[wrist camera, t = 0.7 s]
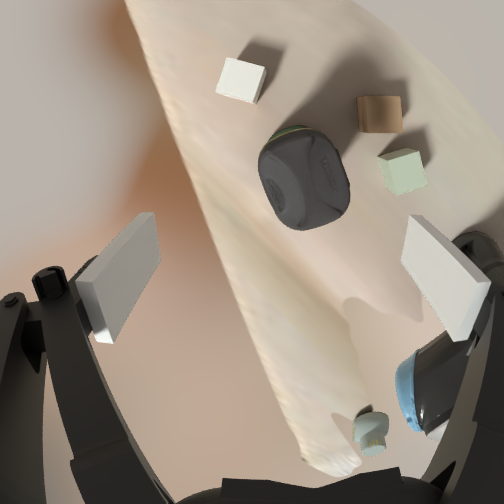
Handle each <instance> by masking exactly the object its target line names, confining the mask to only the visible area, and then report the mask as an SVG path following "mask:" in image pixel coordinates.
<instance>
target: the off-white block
mask: <svg viewBox="0 0 504 504" xmlns="http://www.w3.org/2000/svg"><path fill="white" fill-rule="evenodd" d="M266 74H267V72H266V69H265V67H263V66H259V65H255V64H252V63H248V62H244V61H240V60H236V59H232V58H228V57H227V59H226V62H225V65H224V67H223V70H222V73H221V76H220V79H219V82H218V85H217V88H216V91H215V92H216V93H219V94H221V95H224V96H228V97H232V98H235V99H239V100H242V101H246V102H249V103H253V104H256V103H257V100H258V97H259V94H260V91H261V88H262V86H263V83H264V80H265V77H266Z"/></svg>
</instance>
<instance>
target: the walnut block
mask: <svg viewBox="0 0 504 504" xmlns="http://www.w3.org/2000/svg"><path fill="white" fill-rule="evenodd" d="M356 100H357V109H358V119H359V130H360V132H365V133H403V122H402V110H401V100H400V96H362V97H358V98H356Z"/></svg>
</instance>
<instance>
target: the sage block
mask: <svg viewBox="0 0 504 504" xmlns="http://www.w3.org/2000/svg"><path fill="white" fill-rule="evenodd" d="M377 157H378V161H379V164H380V167H381V171H382V174H383V178H384V181H385V185H386V188H387V189H389V190H390V191H391V192H393V193H394V194H395V195H400V194H403V193H406V192H409V191H412V190H415V189H418V188H421V187H424V186H427V182H426V177H425V173H424V169H423V165H422V161H421V157H420V153H419V151H416V150H413V149H409V148H403V149H400V150H397V151H394V152H390V153H387V154H384V155H381V156H377Z"/></svg>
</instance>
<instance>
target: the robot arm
mask: <svg viewBox="0 0 504 504" xmlns="http://www.w3.org/2000/svg"><path fill="white" fill-rule="evenodd" d="M160 261H161V257H160V250H159V244H158V237H157V230H156V223H155V216H154V212H145V213H140V214H139V215H138V216H137V217H135V219H133V221H132V222H130V223H129V224H128V225H127V226H126V227H125V228H124V229H123V230H122V231H121V232H120V233H119V234H118V235H117V236H116V237H115V239H113V240H112V242H111V243H110V244H109V245H108V246H107V247H106V248H105V249H104V250H103V251H102V252H101V253H100V254H99V255H96V256H95V257H93V258H91V259H90V260H88V261H87V262H86V263H85V264H84V265H83V266H82V268H80V269H79V270H78V272H77V273H76V274H75V275H74V276H73V277H72V278H71V279H70V280H69V281H68V282H67V279H66V276H65V273H64V269H63V268H62V267H59V266H51V267H48V268H45V269H42V270H41V271H39V272H38V273H36V274H35V275H34V276H33V278H32V283H33V286H34V288H35V291H36V294H37V296H38V299H39V301H36V302H30V303H27V301H26V298H25V295H24V294H23V293H21V292H14V293H10V294H8V295H6V296H5V297H4V298H3V299H2V300H1V301H0V504H46V495H45V485H44V471H43V447H42V446H43V443H42V432H43V431H42V430H43V429H42V426H43V401H44V386H45V374H46V365H47V359H48V364H49V369H50V374H51V379H52V383H53V388H54V392H55V395H56V400H57V403H58V407H59V411H60V414H61V418H62V421H63V424H64V428H65V431H66V434H67V437H68V440H69V443H70V446H71V449H72V452H73V455H74V459H73V460H70V466H71V470H72V473H73V476H74V478H75V481H76V483H77V486H78V488H79V490H80V493H81V495H82V498H83V500H84V502H85V504H504V255H503V253H502V252H501V250H500V248H499V246H498V245H497V243H496V242H495V241H494V240H493V239H491V238H490V237H489V236H487V235H486V234H484V233H481V232H469V233H466V234H463V235H461V236H460V237H458V238H457V239H455V240H454V241H453V242H451V241H450V240H449V239H448V238H447V237H445V236H444V235H443V234H442V233H441V232H440V231H439V230H438V229H437V228H435V227H434V226H433V225H432V224H431V223H430V222H429V221H427V220H426V219H425V218H424V217H423V216H422V215H409V221H408V226H407V232H406V237H405V242H404V247H403V252H402V257H401V261H400V262H401V263H402V264H403V266H404V267H405V269H406V270H407V271H408V273H409V274H410V276H411V277H412V279H413V280H414V281H415V283H416V284H417V286H418V287H419V289H420V290H421V292H422V293H423V295H424V296H425V298H426V299H427V300H428V302H429V304H430V305H431V307H432V308H433V310H434V311H435V313H436V314H437V316H438V318H439V319H440V321H441V322H442V324H443V325H444V327H445V329H446V330H445V331H444V332H443V333H442V334H440V335H439V336H438V337H436V338H435V339H434V340H432V341H431V342H429V343H428V344H426V345H425V346H424V347H422V348H421V349H418V350H416V351H415V353H414V354H413V355H412V356H410V357H409V358H408V359H406V360H405V361H403V362H402V363H401V364H400V365H399V367H398V368H397V371H396V377H395V385H396V392H397V396H398V400H399V404H400V407H401V410H402V412H403V415H404V416H405V417H406V419H407V423H408V424H409V426H410V427H411V429H412V430H414V431H416V432H419V431H420V432H421V431H425V434H426V436H427V438H428V439H431V440H435V441H438V442H440V443H439V445H438V448H437V450H436V452H435V454H434V456H433V458H432V460H431V463H430V465H429V467H428V468H427V470H426V472H425V474H424V475H423V476H422V478H421V479H416V478H412V477H405V476H401V473H400V469H399V467H395V468H390V469H384V470H379V471H373V472H367V473H360V474H357V475H355V476H352V477H349V478H347V479H344V480H341V481H338V482H336V483H332V484H329V485H326V486H323V487H319V488H308V487H302V486H296V485H290V484H285V483H280V482H275V481H271V480H250V479H229V478H223V479H222V487H220V488H213V489H209V490H205V491H202V492H199V493H196V494H193V495H191V496H189V497H186V498H184V499H183V500H181V501H179V502H177V503H175V501H174V500H173V499H172V497H171V496H170V494H169V493H168V492H167V490H166V489H165V488H164V486H163V485H162V483H161V482H160V480H159V479H158V477H157V476H156V474H155V473H154V471H153V469H152V468H151V466H150V465H149V463H148V461H147V460H146V458H145V456H144V455H143V453H142V451H141V449H140V448H139V446H138V444H137V442H136V441H135V439H134V437H133V435H132V433H131V431H130V429H129V428H128V426H127V424H126V422H125V420H124V418H123V416H122V414H121V412H120V410H119V408H118V406H117V404H116V402H115V400H114V398H113V395H112V393H111V391H110V389H109V387H108V384H107V382H106V380H105V378H104V375H103V373H102V371H101V368H100V366H99V363H98V361H97V358H96V356H95V353H94V351H93V348H92V346H91V343H90V341H89V338H88V336H89V334H90V333H91V331H93V333H94V336H95V338H96V340H97V342H104V343H112V344H114V342H115V340H116V338H117V336H118V334H119V333H120V331H121V329H122V327H123V325H124V323H125V322H126V320H127V318H128V316H129V314H130V313H131V311H132V309H133V307H134V306H135V304H136V302H137V300H138V299H139V297H140V295H141V293H142V292H143V290H144V288H145V287H146V285H147V283H148V281H149V279H150V278H151V276H152V275H153V273H154V271H155V270H156V268H157V266H158V264H159V263H160Z"/></svg>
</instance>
